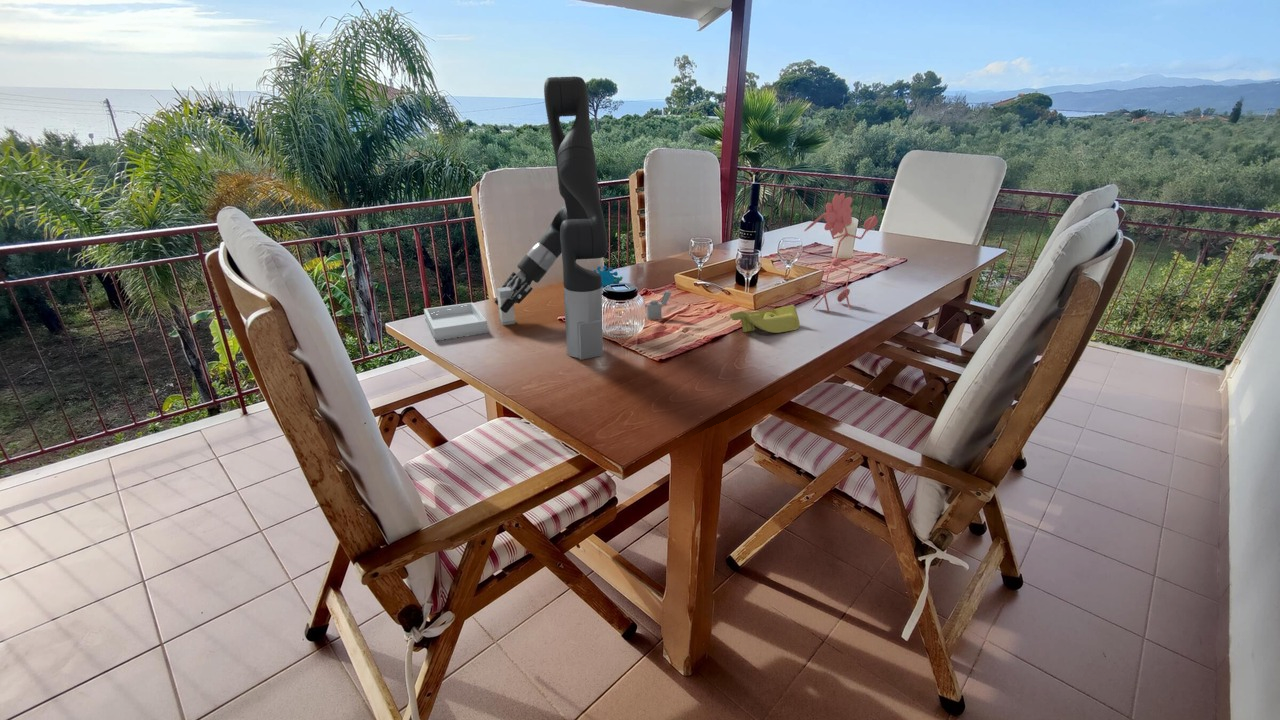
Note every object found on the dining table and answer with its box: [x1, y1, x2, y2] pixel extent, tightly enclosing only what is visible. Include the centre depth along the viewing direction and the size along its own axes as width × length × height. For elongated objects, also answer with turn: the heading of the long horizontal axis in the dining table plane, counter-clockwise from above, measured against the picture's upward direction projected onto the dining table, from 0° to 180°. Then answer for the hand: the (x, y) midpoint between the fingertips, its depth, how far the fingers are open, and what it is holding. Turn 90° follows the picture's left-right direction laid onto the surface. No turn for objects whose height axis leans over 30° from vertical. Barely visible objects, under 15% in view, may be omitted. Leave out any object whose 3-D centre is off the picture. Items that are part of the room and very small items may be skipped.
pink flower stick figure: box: [794, 192, 879, 313], centre depth 170 cm, size 15×26×35 cm, turn 118°
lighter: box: [646, 289, 672, 320], centre depth 163 cm, size 7×2×8 cm, turn 106°
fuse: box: [496, 287, 516, 326], centre depth 156 cm, size 4×4×10 cm
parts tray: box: [423, 302, 489, 342], centre depth 154 cm, size 18×14×4 cm
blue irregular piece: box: [593, 265, 624, 288], centre depth 191 cm, size 11×6×10 cm
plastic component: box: [729, 304, 801, 334], centre depth 156 cm, size 20×7×10 cm
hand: (500, 307), depth 156 cm, fingers open, 5 cm apart
